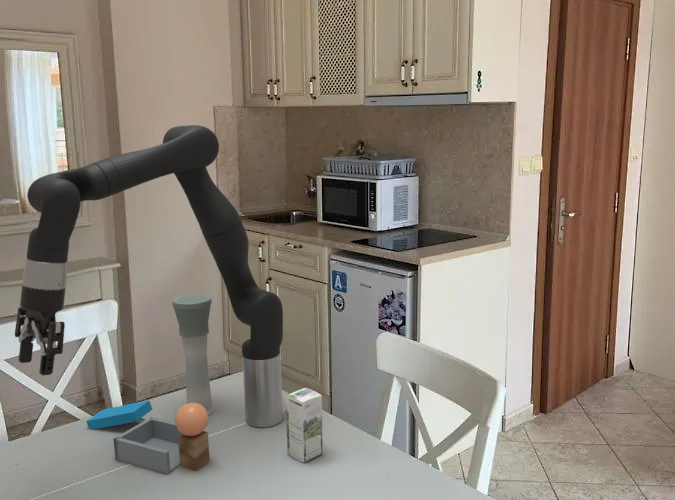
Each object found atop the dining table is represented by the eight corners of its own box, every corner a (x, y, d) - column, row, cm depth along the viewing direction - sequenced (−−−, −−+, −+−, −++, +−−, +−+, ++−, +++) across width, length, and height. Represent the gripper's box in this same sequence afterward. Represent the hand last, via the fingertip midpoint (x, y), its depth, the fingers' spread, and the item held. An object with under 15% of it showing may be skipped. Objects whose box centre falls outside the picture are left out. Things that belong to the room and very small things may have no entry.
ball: (186, 425, 151) (184, 395, 149) (215, 429, 149) (213, 399, 147) (170, 439, 144) (167, 409, 143) (199, 443, 142) (197, 412, 141)
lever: (95, 447, 167) (155, 436, 161) (86, 421, 166) (146, 409, 160) (112, 434, 173) (170, 424, 167) (103, 409, 172) (161, 397, 166)
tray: (203, 449, 154) (201, 429, 153) (167, 474, 144) (165, 452, 143) (153, 436, 161) (151, 417, 160) (115, 459, 151) (113, 438, 150)
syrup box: (306, 445, 155) (303, 386, 152) (323, 454, 151) (321, 393, 148) (287, 455, 151) (284, 394, 148) (304, 464, 147) (302, 401, 144)
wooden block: (209, 461, 149) (207, 431, 148) (196, 471, 145) (194, 440, 144) (193, 457, 151) (191, 427, 150) (180, 466, 147) (177, 436, 146)
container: (214, 419, 169) (207, 303, 163) (176, 420, 169) (167, 304, 163) (221, 403, 179) (214, 293, 173) (185, 404, 179) (177, 294, 173)
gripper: (82, 291, 125) (72, 376, 126) (45, 276, 134) (37, 356, 135) (42, 292, 119) (32, 381, 121) (7, 276, 128) (-2, 360, 130)
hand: (35, 368), depth 128 cm, fingers open, 8 cm apart
